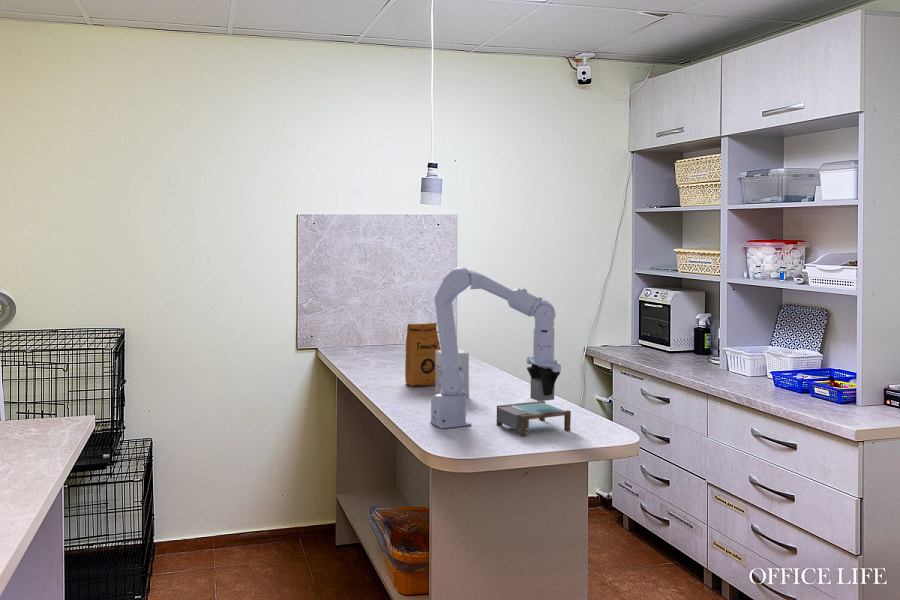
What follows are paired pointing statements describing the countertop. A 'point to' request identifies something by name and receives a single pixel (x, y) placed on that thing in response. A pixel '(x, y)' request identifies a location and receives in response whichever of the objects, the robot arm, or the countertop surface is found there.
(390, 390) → the countertop surface
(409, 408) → the countertop surface
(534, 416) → the frame
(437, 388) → the supplement box
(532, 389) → the gray block
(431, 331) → the coffee package
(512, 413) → the trapdoor
